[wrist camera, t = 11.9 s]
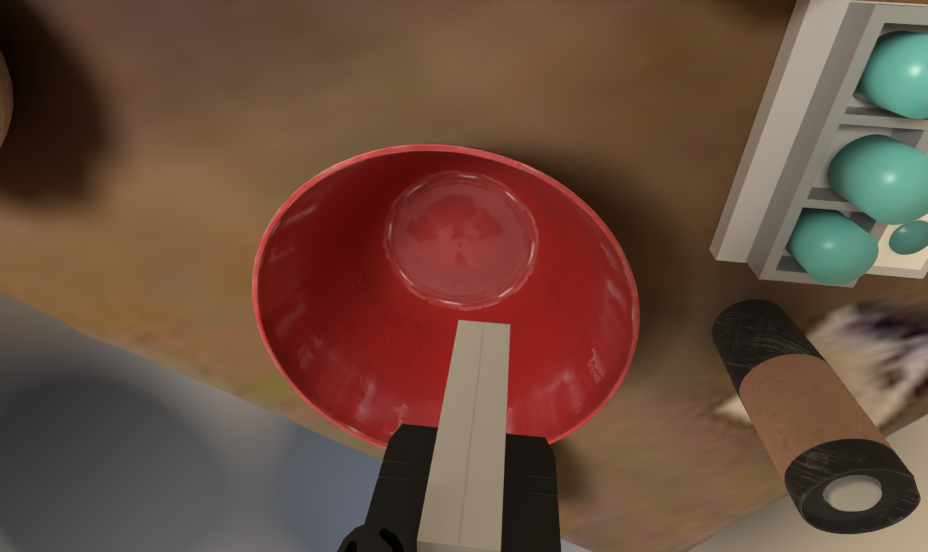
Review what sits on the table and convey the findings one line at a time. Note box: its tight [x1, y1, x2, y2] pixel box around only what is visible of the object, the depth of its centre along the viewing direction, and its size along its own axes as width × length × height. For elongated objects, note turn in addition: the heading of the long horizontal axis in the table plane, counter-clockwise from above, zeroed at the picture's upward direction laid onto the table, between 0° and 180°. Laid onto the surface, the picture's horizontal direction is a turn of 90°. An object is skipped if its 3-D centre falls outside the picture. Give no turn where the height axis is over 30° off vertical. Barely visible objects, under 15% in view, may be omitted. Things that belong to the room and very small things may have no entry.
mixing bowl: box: [252, 144, 640, 449], centre depth 43 cm, size 28×28×15 cm
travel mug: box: [712, 300, 920, 534], centre depth 43 cm, size 8×8×20 cm
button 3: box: [785, 207, 879, 285], centre depth 40 cm, size 5×5×5 cm
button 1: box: [853, 30, 928, 119], centre depth 33 cm, size 5×5×5 cm
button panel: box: [709, 0, 928, 288], centre depth 39 cm, size 21×18×5 cm
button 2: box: [828, 134, 928, 225], centre depth 35 cm, size 5×5×5 cm
